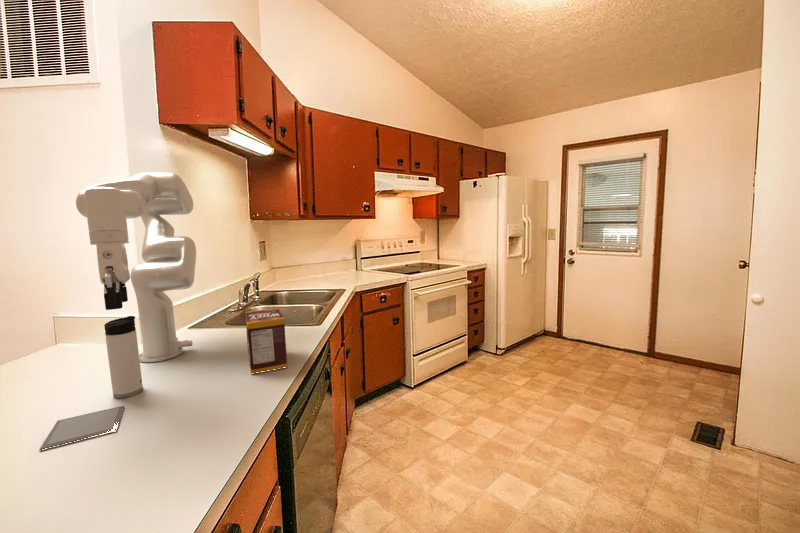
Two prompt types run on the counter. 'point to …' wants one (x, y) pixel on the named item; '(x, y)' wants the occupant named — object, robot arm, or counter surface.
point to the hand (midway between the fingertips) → (117, 305)
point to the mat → (82, 426)
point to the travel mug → (123, 357)
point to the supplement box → (266, 340)
